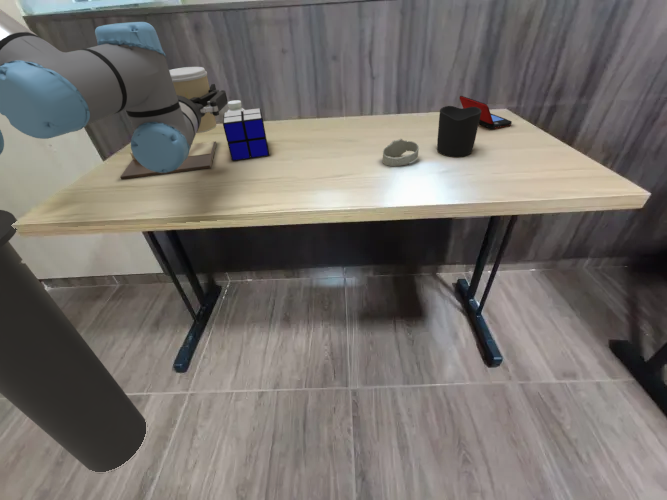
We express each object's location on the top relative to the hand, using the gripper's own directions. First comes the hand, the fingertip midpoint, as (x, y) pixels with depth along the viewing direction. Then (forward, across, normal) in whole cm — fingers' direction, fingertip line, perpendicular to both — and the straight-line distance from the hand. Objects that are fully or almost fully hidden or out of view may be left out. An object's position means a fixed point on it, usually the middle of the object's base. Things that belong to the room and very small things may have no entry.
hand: (194, 92), depth 81 cm
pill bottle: (+22, +6, -18) cm, 29 cm away
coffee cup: (-5, 0, -7) cm, 9 cm away
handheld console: (+6, +78, -18) cm, 80 cm away
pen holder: (-11, +61, -18) cm, 65 cm away
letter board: (+7, -12, -18) cm, 22 cm away
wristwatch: (-13, +46, -18) cm, 51 cm away
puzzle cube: (+6, +9, -18) cm, 21 cm away
